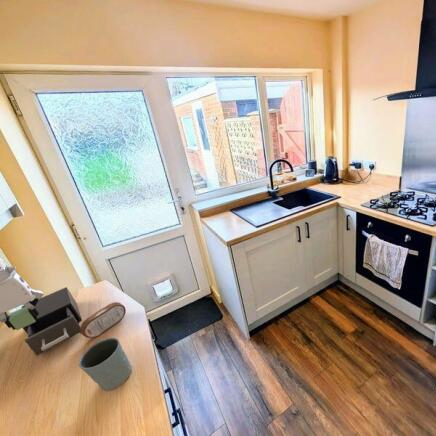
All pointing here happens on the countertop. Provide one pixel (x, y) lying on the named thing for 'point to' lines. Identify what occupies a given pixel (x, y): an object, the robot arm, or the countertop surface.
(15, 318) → the cube
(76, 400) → the countertop surface
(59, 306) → the small drawer box
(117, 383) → the grey green cup
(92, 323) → the tin
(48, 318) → the dark grey sliding drawer
